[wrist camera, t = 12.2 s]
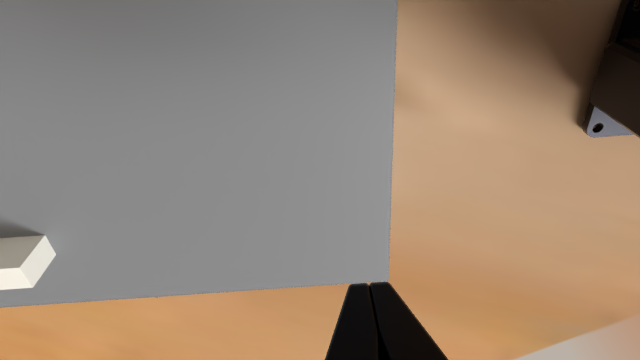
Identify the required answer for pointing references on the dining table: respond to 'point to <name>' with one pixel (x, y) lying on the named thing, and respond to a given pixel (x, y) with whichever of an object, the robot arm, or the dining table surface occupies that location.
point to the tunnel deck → (193, 146)
